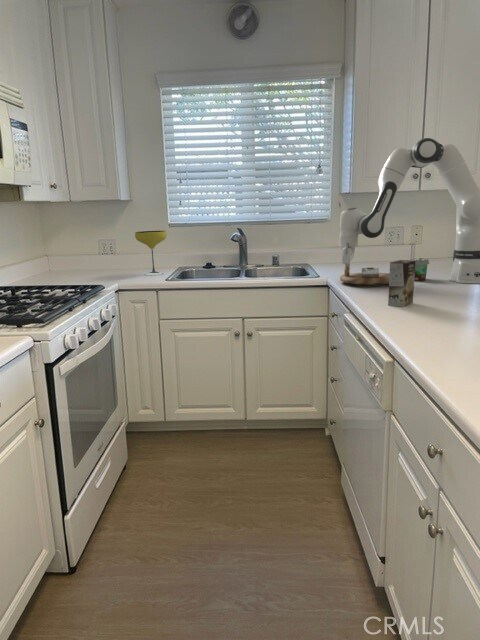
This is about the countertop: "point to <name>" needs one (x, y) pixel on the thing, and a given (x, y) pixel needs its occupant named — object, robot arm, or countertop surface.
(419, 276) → the food container
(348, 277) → the turntable
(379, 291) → the countertop surface
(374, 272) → the cover
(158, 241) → the cocktail glass
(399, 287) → the coffee box
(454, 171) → the robot arm
